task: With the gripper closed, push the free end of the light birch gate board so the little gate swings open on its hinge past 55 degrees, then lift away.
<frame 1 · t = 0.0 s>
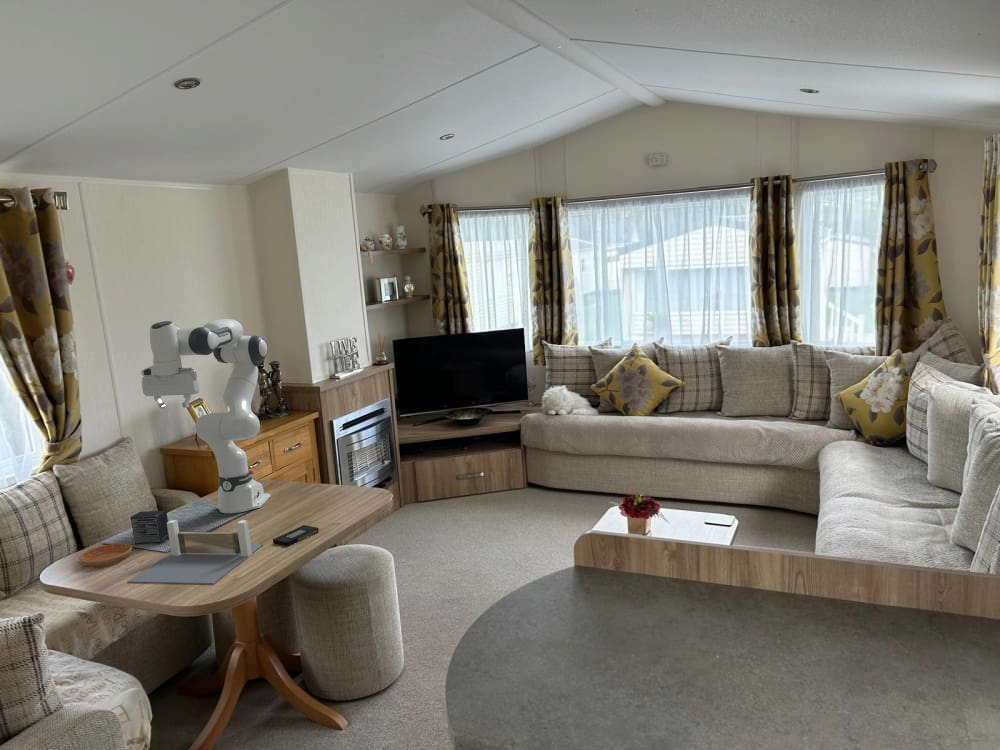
hand: (174, 407, 259), 48 cm above the table, fingers open, 8 cm apart
gate leaf: (209, 542, 248), point 5 cm above the table, hinge at 0.0°
small box: (153, 541, 266), on the table
vhs tape: (296, 539, 259), on the table
gate frame: (211, 555, 248), on the table
saucer: (107, 560, 252), on the table
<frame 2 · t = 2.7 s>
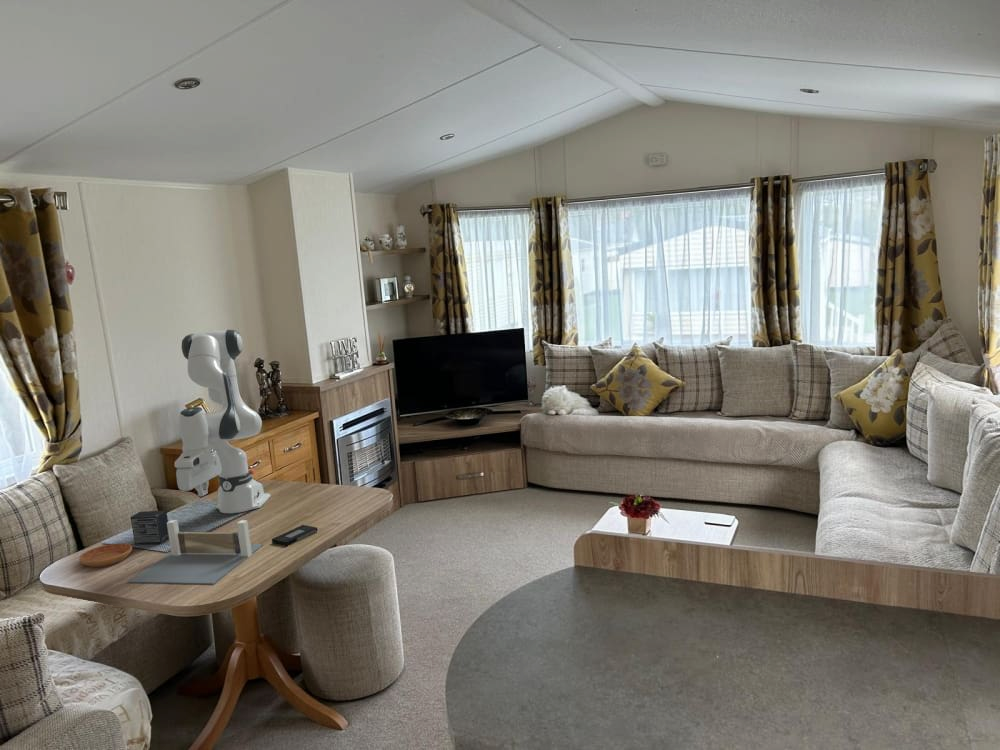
hand: (203, 495, 252), 19 cm above the table, fingers closed
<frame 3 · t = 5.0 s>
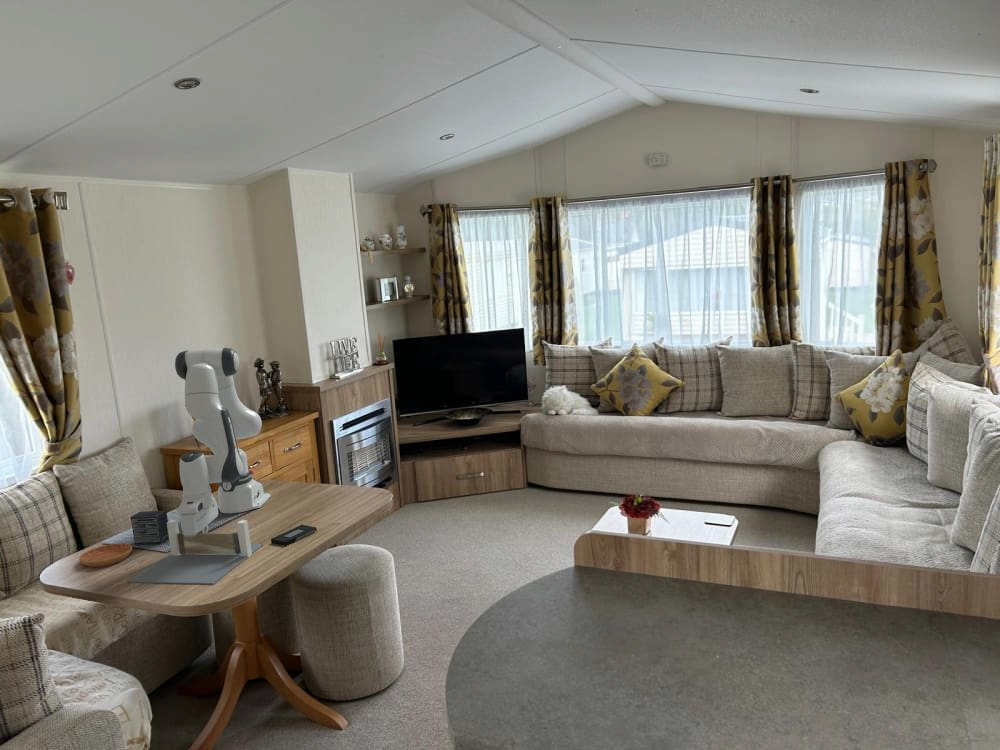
hand: (203, 539, 250), 5 cm above the table, fingers closed
gate leaf: (209, 543, 247), point 5 cm above the table, hinge at 1.3°, touching gripper
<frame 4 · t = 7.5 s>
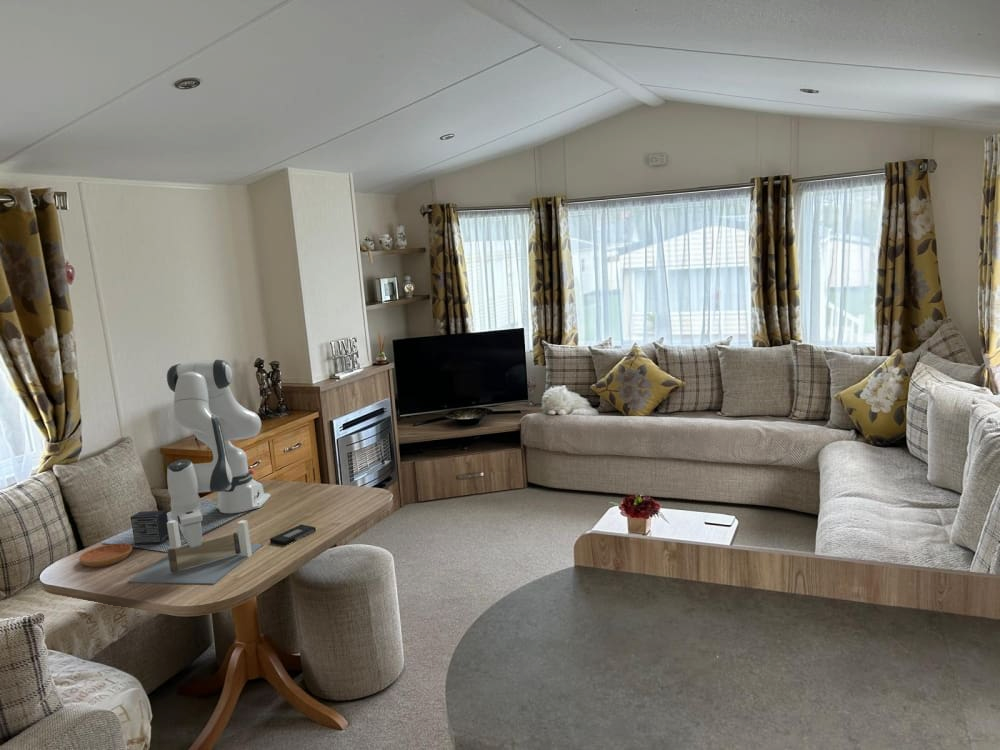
hand: (193, 551, 240), 5 cm above the table, fingers closed
gate leaf: (205, 551, 240), point 5 cm above the table, hinge at 45.6°, touching gripper
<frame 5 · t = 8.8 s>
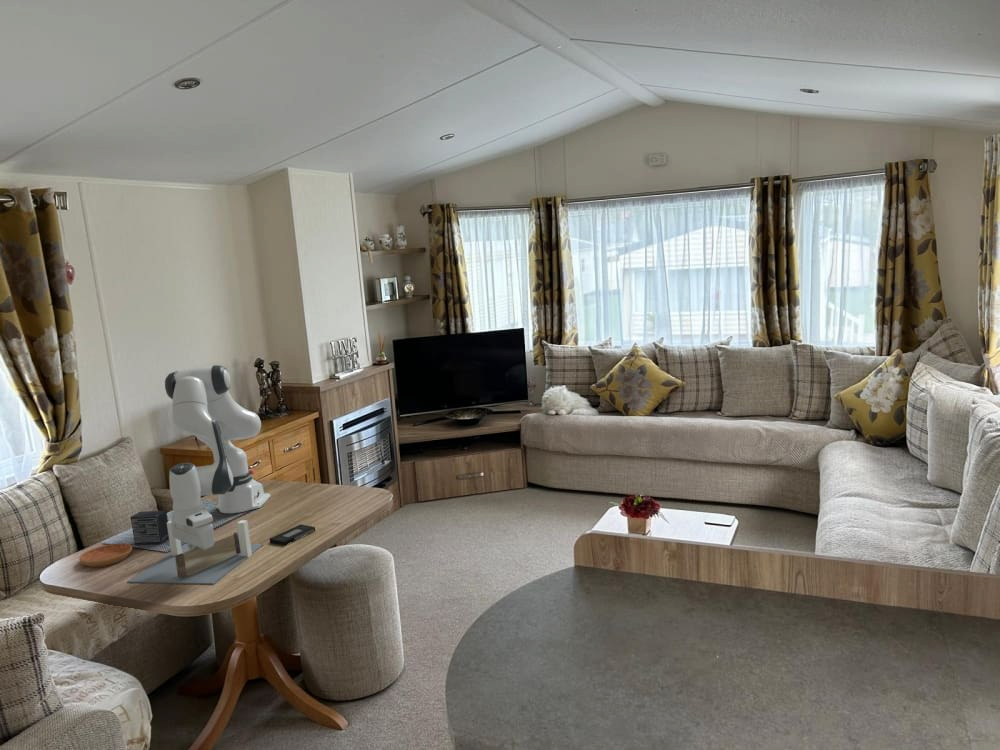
hand: (195, 555, 237), 5 cm above the table, fingers closed
gate leaf: (209, 554, 238), point 5 cm above the table, hinge at 64.8°, touching gripper
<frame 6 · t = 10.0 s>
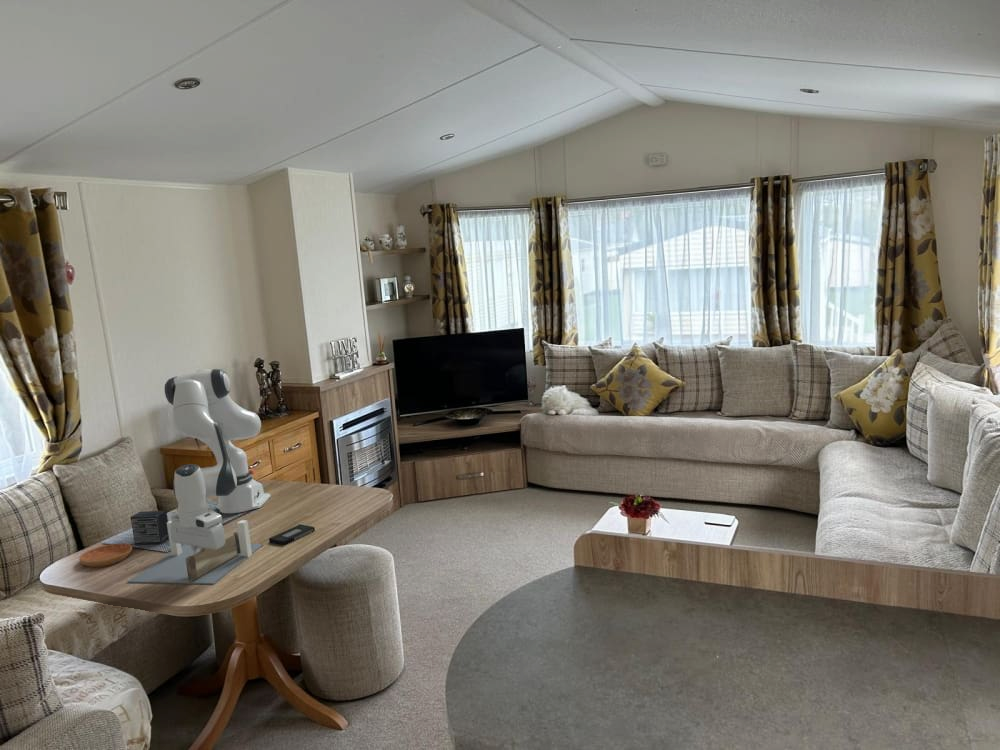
hand: (200, 558, 234), 5 cm above the table, fingers closed
gate leaf: (214, 555, 236), point 5 cm above the table, hinge at 79.0°, touching gripper
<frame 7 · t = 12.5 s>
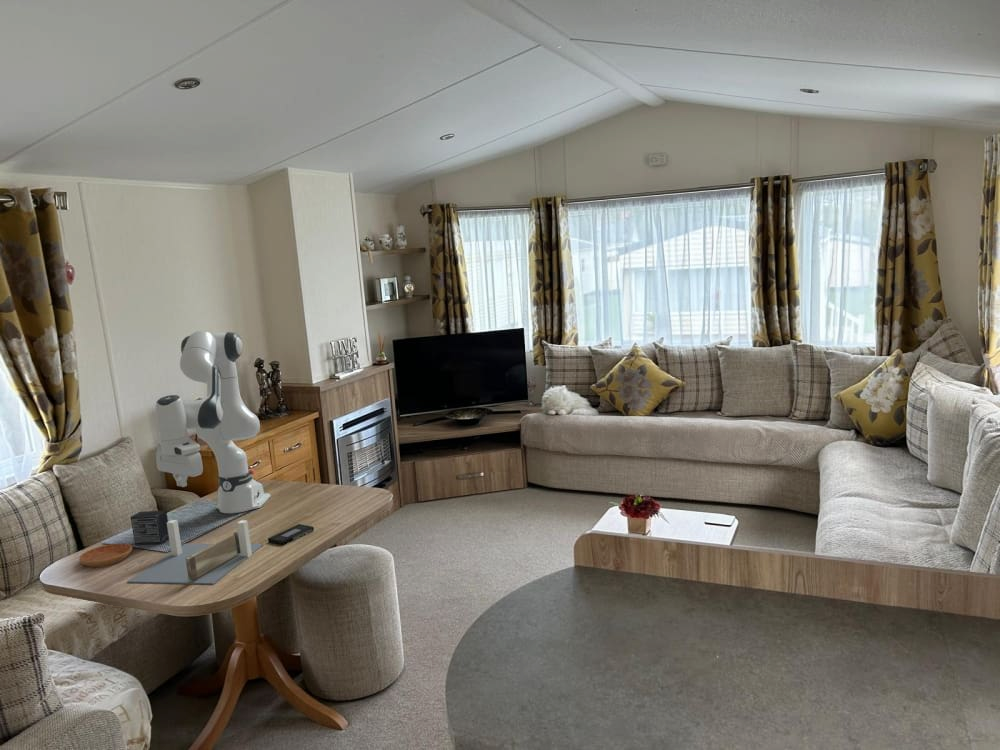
hand: (182, 486, 243), 25 cm above the table, fingers closed
gate leaf: (214, 555, 236), point 5 cm above the table, hinge at 79.1°
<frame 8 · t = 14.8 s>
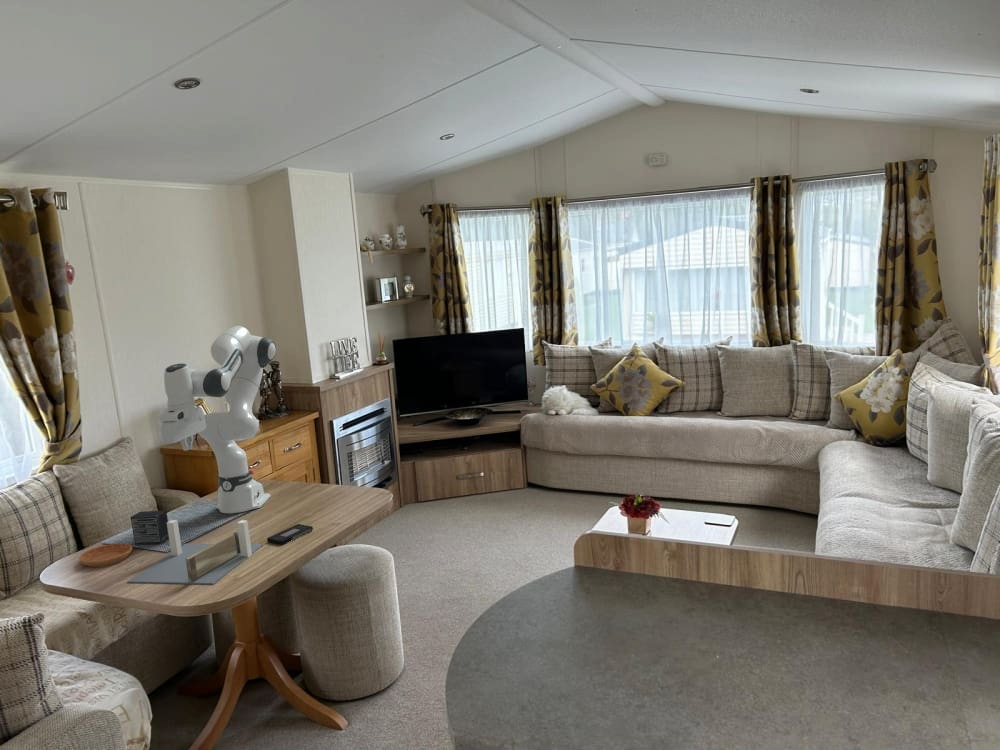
hand: (187, 449, 259), 33 cm above the table, fingers closed
at the end: gate leaf at +79° (first picture: +0°); small box moved 0.3 cm from its start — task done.
